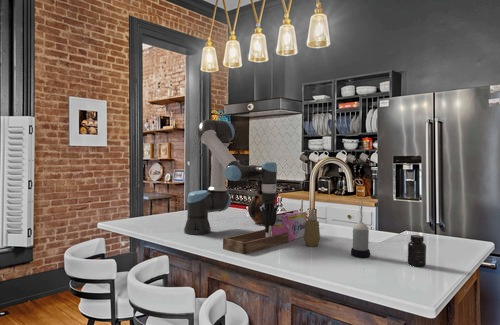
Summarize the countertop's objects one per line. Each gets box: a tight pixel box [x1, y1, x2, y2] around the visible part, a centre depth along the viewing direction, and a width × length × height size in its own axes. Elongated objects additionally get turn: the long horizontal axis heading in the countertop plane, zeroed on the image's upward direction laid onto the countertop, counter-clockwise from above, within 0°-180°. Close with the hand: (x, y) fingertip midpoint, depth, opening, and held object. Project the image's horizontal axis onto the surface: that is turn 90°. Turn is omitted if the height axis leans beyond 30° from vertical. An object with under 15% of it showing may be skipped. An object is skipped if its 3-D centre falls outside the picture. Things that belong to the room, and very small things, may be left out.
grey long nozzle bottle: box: [350, 199, 371, 259], centre depth 163 cm, size 8×8×25 cm
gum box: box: [272, 210, 308, 242], centre depth 197 cm, size 24×8×14 cm, turn 139°
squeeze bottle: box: [303, 208, 321, 247], centre depth 181 cm, size 8×8×18 cm
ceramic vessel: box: [247, 180, 277, 224], centre depth 241 cm, size 21×18×30 cm
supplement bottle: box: [407, 234, 427, 268], centre depth 150 cm, size 7×7×12 cm
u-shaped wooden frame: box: [222, 228, 290, 255], centre depth 179 cm, size 14×33×5 cm, turn 138°
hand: (268, 238), depth 186 cm, fingers closed
